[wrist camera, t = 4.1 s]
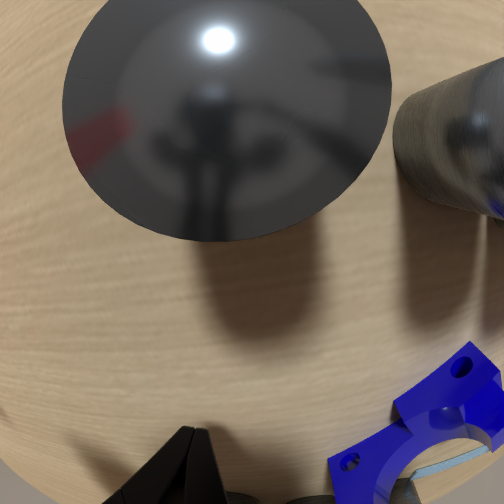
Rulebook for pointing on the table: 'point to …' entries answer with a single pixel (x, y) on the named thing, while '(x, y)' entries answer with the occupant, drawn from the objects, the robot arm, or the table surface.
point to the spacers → (265, 121)
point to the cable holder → (424, 426)
